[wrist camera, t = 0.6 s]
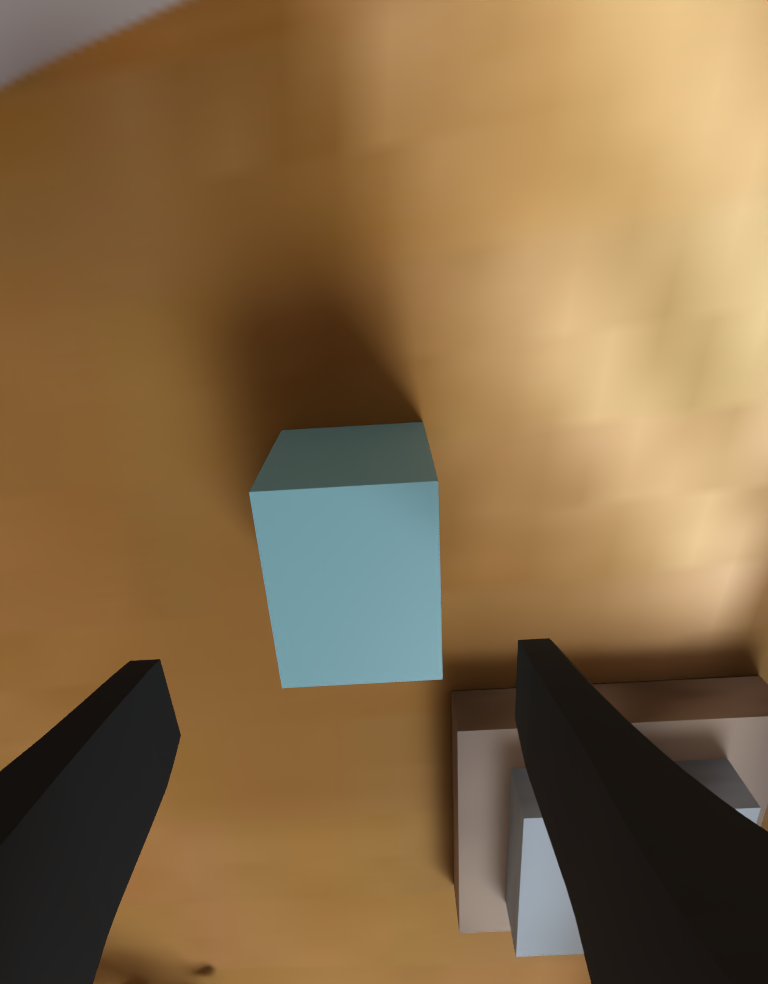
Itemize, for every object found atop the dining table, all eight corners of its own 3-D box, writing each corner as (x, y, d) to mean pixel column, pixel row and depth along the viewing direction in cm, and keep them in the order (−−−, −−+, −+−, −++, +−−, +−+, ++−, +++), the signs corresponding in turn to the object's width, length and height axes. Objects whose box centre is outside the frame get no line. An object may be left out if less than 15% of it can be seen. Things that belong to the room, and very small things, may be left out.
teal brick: (422, 420, 18) (438, 480, 13) (428, 581, 20) (442, 679, 16) (281, 429, 18) (248, 492, 13) (303, 588, 20) (282, 687, 16)
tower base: (760, 675, 22) (835, 761, 18) (707, 875, 27) (759, 975, 23) (451, 691, 22) (464, 779, 18) (454, 886, 27) (465, 987, 23)
